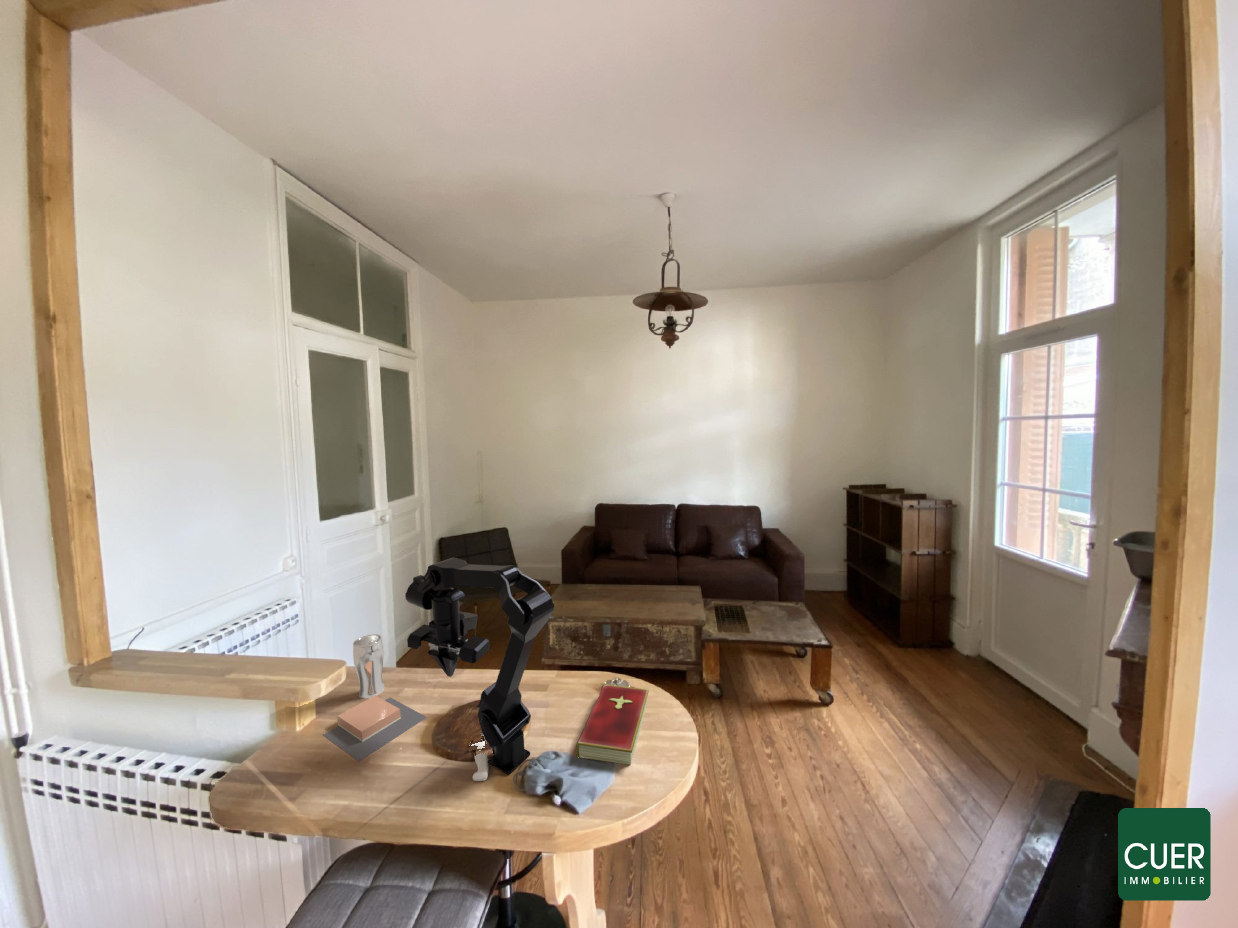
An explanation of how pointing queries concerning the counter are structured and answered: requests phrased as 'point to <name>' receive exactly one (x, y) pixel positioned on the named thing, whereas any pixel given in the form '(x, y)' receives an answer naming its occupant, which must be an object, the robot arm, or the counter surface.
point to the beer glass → (369, 664)
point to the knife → (481, 763)
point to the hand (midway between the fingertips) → (450, 675)
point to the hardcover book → (614, 725)
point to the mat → (379, 739)
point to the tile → (368, 718)
